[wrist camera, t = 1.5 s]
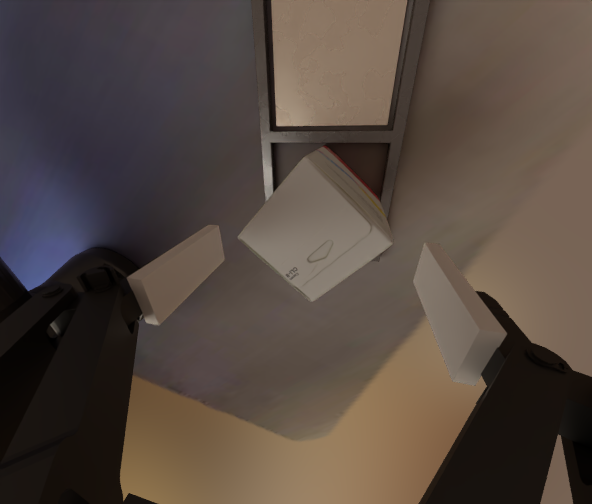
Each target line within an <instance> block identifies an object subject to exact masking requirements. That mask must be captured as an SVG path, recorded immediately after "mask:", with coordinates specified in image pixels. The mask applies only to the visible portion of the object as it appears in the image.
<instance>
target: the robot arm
mask: <svg viewBox="0 0 592 504" xmlns="http://www.w3.org/2000/svg"><path fill="white" fill-rule="evenodd" d="M224 260H225V257H224V252H223V246H222V241H221V235H220V230H219V225H207V226H206V227H204V228H203V229H201V230H200V231H198V232H197V233H195V234H193V235H192V236H190V237H189V238H187V239H186V240H184V241H183V242H181V243H180V244H178V245H176V246H175V247H173V248H172V249H170V250H169V251H167V252H166V253H164V254H163V255H161V256H159V257H158V258H155V259H153V260H152V261H150V262H149V263H147V265H144V266H143V267H141V269H138V268H137V267H136V266H135V265H134V264H133V263H131V262H130V261H129V260H128V259H126V258H125V257H123V256H121V255H119V254H117V253H115V252H113V251H110V250H107V249H103V248H91V249H88V250H86V251H83V252H81V253H79V254H77V255H75V256H73V257H72V258H71V259H70V260H68V261H67V262H66V263H65V264H64V265H63V266H62V267H61V268H60V269H58V270H57V271H56V272H55V273H54V274H53V275H52V276H51V277H50V278H49V279H47V280H46V281H45V282H44V283H43V284H41V285H40V286H38V287H36V288H34V289H32V290H30V291H27V289H26V288H25V286H24V285H23V284H22V283H21V282H20V280H19V279H18V278H17V277H16V275H15V274H14V273H13V272H12V271H11V269H10V268H9V267H8V266H7V265H6V263H5V262H4V261H3V260H2V258H1V257H0V504H157V503H154V502H151V501H149V500H146V499H143V498H141V497H138V496H136V495H133V494H130V493H129V494H128V495H127V497H126V499H125V500H124V502H123V494H122V489H121V485H120V468H121V461H122V453H123V445H124V437H125V428H126V422H127V414H128V406H129V398H130V390H131V383H132V375H133V367H134V359H135V352H136V344H137V336H138V328H139V323H138V322H139V321H141V320H142V319H143V318H144V319H145V321H146V323H150V324H155V325H160V324H161V323H162V322H163V321H164V320H165V319H166V318H167V317H168V316H169V315H170V314H171V313H172V312H173V311H174V310H175V309H176V308H177V307H178V306H179V305H180V304H181V303H182V302H183V301H184V300H185V299H186V298H187V297H188V296H189V295H190V294H191V293H192V292H193V291H194V290H195V289H196V288H197V287H198V286H199V285H200V284H201V283H202V282H203V281H204V280H205V279H206V278H207V277H208V276H209V275H210V274H211V273H212V272H213V271H214V270H215V269H216V268H217V267H218V266H219V265H220V264H221V263H222V262H223V261H224ZM413 283H414V285H415V288H416V290H417V293H418V295H419V298H420V300H421V303H422V305H423V308H424V310H425V313H426V316H427V318H428V321H429V323H430V326H431V328H432V331H433V333H434V336H435V338H436V341H437V343H438V346H439V348H440V351H441V353H442V356H443V358H444V361H445V364H446V366H447V369H448V371H449V374H450V376H451V379H452V381H454V382H459V383H464V384H469V385H474V386H475V385H476V383H477V382H478V380H479V379H480V377H481V375H482V377H483V379H484V381H485V383H486V385H487V387H486V389H485V390H484V392H483V393H482V395H481V396H480V398H479V399H478V401H477V402H476V406H475V407H474V409H473V411H472V413H471V414H470V416H469V418H468V420H467V421H466V423H465V425H464V427H463V428H462V430H461V432H460V433H459V435H458V437H457V438H456V440H455V442H454V444H453V445H452V447H451V449H450V451H449V452H448V454H447V456H446V457H445V459H444V461H443V463H442V465H441V466H440V468H439V470H438V471H437V473H436V475H435V477H434V478H433V480H432V482H431V483H430V485H429V487H428V489H427V490H426V492H425V494H424V495H423V497H422V499H421V501H420V502H419V504H540V502H541V498H542V494H543V490H544V486H545V482H546V479H547V475H548V471H549V467H550V463H551V459H552V455H553V451H554V447H555V443H556V439H557V436H558V434H559V435H561V439H562V444H563V450H564V455H565V460H566V466H567V471H568V477H569V482H570V488H571V493H572V499H573V504H592V377H590V376H588V375H585V374H582V373H579V372H576V371H573V370H572V369H571V367H570V366H569V365H568V364H567V362H566V361H564V360H563V359H562V358H561V357H560V356H558V355H557V354H555V353H554V352H552V351H550V350H548V349H547V348H545V347H542V346H539V345H537V344H534V343H531V341H530V340H529V339H528V338H527V337H526V336H525V334H524V333H523V332H522V331H521V330H520V329H519V327H518V326H517V325H516V324H515V322H514V321H513V320H512V319H511V318H509V315H508V314H507V313H506V312H505V311H504V310H503V308H502V307H501V306H500V305H499V303H498V302H497V301H496V300H495V299H493V298H492V297H490V296H489V295H488V294H486V293H485V292H478V291H475V290H474V289H473V288H472V287H471V286H470V284H469V283H468V281H467V280H466V279H465V277H464V276H463V275H462V273H461V272H460V271H459V269H458V268H457V267H456V265H455V264H454V263H453V261H452V260H451V259H450V257H449V256H448V255H447V254H446V252H445V251H444V250H443V248H442V247H441V246H440V244H436V243H424V246H423V249H422V253H421V256H420V260H419V263H418V266H417V270H416V273H415V277H414V280H413Z"/></svg>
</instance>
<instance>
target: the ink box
mask: <svg viewBox="0 0 592 504" xmlns="http://www.w3.org/2000/svg"><path fill="white" fill-rule="evenodd" d="M238 239H239V240H240V241H241V242H242V243H243V244H245V245H246V246H247V247H248V248H249V249H250V250H251V251H252V252H253V253H254V254H255V255H256V256H257V257H259V258H260V259H261V260H262V261H263V262H264V263H265V264H267V265H268V266H269V267H270V268H271V269H273V270H274V271H275V272H276V273H277V274H279V275H280V276H281V277H282V278H283V279H284V280H285V281H287V282H288V283H289V284H290V285H291V286H292V287H294V288H295V289H296V290H297V291H298V292H299V293H301V294H302V295H303V296H304V297H305V298H307V299H308V300H309V301H310V302H313V301H315V300H316V299H318V298H319V297H320V296H322V295H323V294H325V293H326V292H327V291H329V290H330V289H332V288H333V287H334V286H336V285H337V284H339V283H340V282H341V281H343V280H344V279H346V278H347V277H349V276H350V275H351V274H353V273H354V272H356V271H357V270H358V269H360V268H361V267H363V266H364V265H365V264H367V263H368V262H370V261H371V260H372V259H374V258H375V257H376V256H378V255H379V254H381V253H382V252H383V251H385V250H386V249H388V248H389V247H390V246H392V245H393V242H394V239H393V236H392V233H391V230H390V227H389V224H388V222H387V219H386V216H385V213H384V210H383V208H382V205H381V203H380V200H379V198H378V196H377V195H376V194H375V193H374V192H373V191H372V190H371V189H370V188H369V187H368V185H367V184H366V183H365V182H364V181H363V180H362V179H361V178H360V177H359V176H358V175H357V174H356V173H355V172H354V171H353V170H352V169H351V168H350V167H349V166H348V165H347V164H346V163H345V162H344V161H343V160H342V159H341V158H340V157H338V156H337V155H336V154H335V153H334V152H333V151H332V150H331V149H330V148H328V147H327V146H326V145H324V146H322V147H321V148H319V149H317V150H316V151H314V152H312V153H310V154H308V155H306V156H304V157H303V158H302V159H301V161H300V162H299V163H298V164H297V165H296V166H295V168H294V169H293V170H292V171H291V172H290V173H289V175H288V176H287V177H286V178H285V179H284V181H283V182H282V183H281V184H280V185H279V187H278V188H277V189H276V190H275V191H274V193H273V194H272V195H271V196H270V197H269V199H268V200H267V201H266V202H265V204H264V205H263V206H262V207H261V208H260V210H259V211H258V212H257V213H256V214H255V216H254V217H253V218H252V219H251V220H250V222H249V223H248V224H247V225H246V227H245V228H244V229H243V230H242V232H241V233H240V234H239V236H238Z"/></svg>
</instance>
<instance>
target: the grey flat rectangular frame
mask: <svg viewBox="0 0 592 504" xmlns="http://www.w3.org/2000/svg"><path fill="white" fill-rule="evenodd" d="M251 3H252V17H253V31H254V45H255V59H256V74H257V88H258V102H259V116H260V130H261V144H262V158H263V172H264V186H265V200H266V201H267V200H268V199H269V197H270V196H271V195H272V194H273V193H274V191H275V190H276V189H275V168H274V148H273V143H389V148H388V154H387V160H386V166H385V171H384V177H383V183H382V189H381V195H380V203H381V205H382V208H383V210H384V213H385V216H386V219H387V218H388V213H389V208H390V203H391V198H392V193H393V188H394V183H395V177H396V172H397V167H398V162H399V157H400V152H401V147H402V142H403V136H404V131H405V126H406V121H407V116H408V111H409V106H410V101H411V95H412V90H413V85H414V80H415V75H416V70H417V65H418V60H419V55H420V49H421V44H422V39H423V34H424V29H425V24H426V19H427V14H428V8H429V3H430V0H414V2H413V8H412V13H411V19H410V25H409V31H408V37H407V43H406V49H405V54H404V60H403V66H402V72H401V78H400V84H399V89H398V95H397V101H396V107H395V113H394V119H393V125H392V130H391V131H299V132H273V127H272V107H271V86H270V65H269V45H268V24H267V4H266V0H251ZM271 6H272V30H273V54H274V78H275V103H276V126H343V125H387V123H388V117H389V111H390V105H391V99H392V92H393V86H394V80H395V74H396V68H397V61H398V55H399V49H400V43H401V37H402V30H403V24H404V18H405V12H406V6H407V0H271ZM379 259H380V254H379V255H378V256H376V257H375V258H374V259H372V260H371V261H379Z"/></svg>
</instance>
